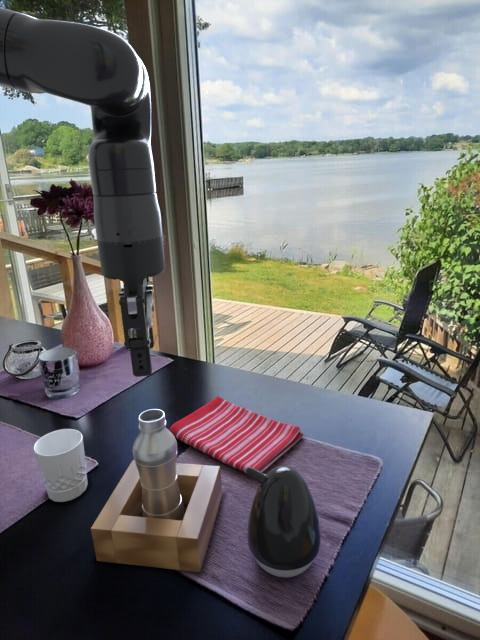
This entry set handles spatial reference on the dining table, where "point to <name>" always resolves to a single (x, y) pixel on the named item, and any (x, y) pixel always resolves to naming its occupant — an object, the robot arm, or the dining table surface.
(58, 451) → the white cup
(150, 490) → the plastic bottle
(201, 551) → the holder
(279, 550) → the pump dispenser
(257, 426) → the dish towel
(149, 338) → the robot arm
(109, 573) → the dining table surface
